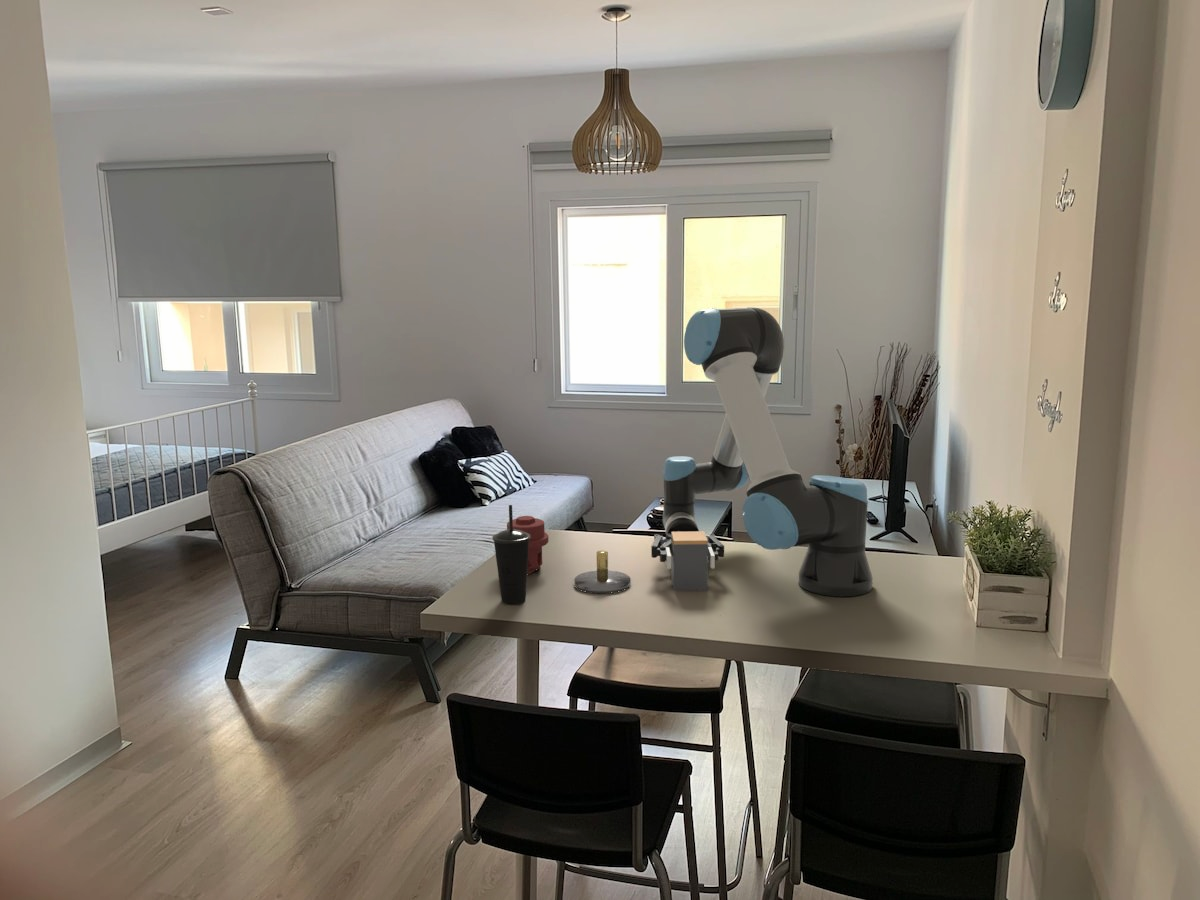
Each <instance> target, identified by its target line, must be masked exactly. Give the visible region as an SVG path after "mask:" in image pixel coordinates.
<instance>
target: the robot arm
mask: <svg viewBox="0 0 1200 900" xmlns="http://www.w3.org/2000/svg"><path fill="white" fill-rule="evenodd" d="M784 342H785V341H784V335H783V332H782V328H781V326H780V324H779V322H778V321H777V319H776V318H775V317H774V316H773V315H772V314H771V313H769V312H768V311H766V310H765V309H763V308H758V307H739V308H738V307H737V308H736V307H735V308H733V307H732V308H716V307H712V308H708V309H707V308H706V309H700V310H698V311H696V312H694V313H693V315H692V316H691V317H690V318H689V320H688V322H687V324H686V327H685V332H684V336H683V348H684V353H685V356H686V358H687V359H688V360H689V362H690V363H692V364H694V365H696V366H701V367H702V370H703V373H704V376H705V377H706V379H709V380H711V381H714V383H715V386H716V388H717V392H718V395H719V397H720V400H721V403H722V406H723V408H724V411H725V416H724V419H723V421H722V424H721V428H720V432H719V434H718V437H717V441H716V444H715V448H714V451H713V454H712V457H711V460H710V461H708V462H707V461H706V462H699V463H696V460H695V459H694V457H691V456H685V455H684V456H683V455H681V456H677V455H676V456H670V457H667V458H666V460H665V461H664V462H663V463H664V464H663V472H662V473H663V474H662V475H663V476H662V478H663V513H662V525H663V527H664V530H665V531H664V532H665V537H664V536H663V535H660V534H657V533H656V534H654V535H653V538H654V540H653V542H652V544H651V550H650V551H651V552H650V553H651V558H653V559H655V558H657V557H659V562H660V563H665V564H666V567H667V569H669V570H671V532H691V531H700V529H699V527H698V524H697V523H696V517H695V516H696V515H695V514H696V513H695V512H696V511H695V510H696V508H695V507H696V505H695V504H696V495H703V494H704V495H705V494H710V493H718V492H729V491H730V492H731V491H734V490H738V489H740V488H743V487H745V485H746V484H747V482H748V481H749V485H748V487H747V488H746V491H745V494H746V496H747V497H746V499H744V502H743V503H742V504H743V505H742V511H743V513H742V515H741V517H742V522H743V526H744V529H746V532H747V534H748V535H749V537H750V538H751V540H752V541H753V542H754V543H755V544H757V546H760V547H762V548H763V549H765V550H769V551H770V550H772V551H773V550H774V551H775V550H788V549H791V548H793V547H799V546H803V545H807V550H806V552H805V556H804V557H803V561H802V564H801V566H800V568H799V571H798V585H799V586H800V587H801V588H802V589H804V590H805V591H809V592H810V593H813V594H818V595H823V596H829V597H841V598H842V597H856V596H862V595H865V594H867V593H869V592H871V591H872V590H873V574H872V571H871V568H870V564H869V561H868V557H867V553H866V538H867V522H868V521H867V519H868V518H867V517H868V504H869V501H868V489H867V485H865V484H864V483H863V482H861V481H859V480H857V479H852V478H848V477H841V476H832V475H812V476H811V477H810V478H809V479H810V480H809V482H808V486H807V485H805V483H804V480H803V478H802V475H801V473H800V472H798V471H796V470H793V469H791V467H790V464H789V460H788V459H787V455H786V453H785V451H784V447H783V445H782V442H781V440H780V437H779V434H778V432H777V428H776V426H775V423H774V421H773V418H772V416H771V413H770V412H771V411H770V409H769V406H768V404H767V402H766V399H765V398H766V395H767V392H768V389H769V386H770V383H771V380H772V377H773V376H774V375H776V374H778V372H779V370H780V368H781V364H782V362H783V357H784V351H785V350H784V349H785V343H784ZM706 538H707V540H708V555H707V562H708V563H709V567H710V569H715V567H716V566H715V563H716V562H715V561H718V560H719V558H725V544H723V543H722V542H721V541H720V540H719V539H718V538H716V535H715V534H713V533H711V534H709V535H706Z"/></svg>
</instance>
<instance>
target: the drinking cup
mask: <svg viewBox="0 0 1200 900" xmlns="http://www.w3.org/2000/svg"><path fill="white" fill-rule="evenodd" d="M508 520H509V521H508V522H509V528H510V529H509V530H507V529H504V530H501V531H499V532H497V533H495V534H493V536H492V539H491V540H492V541H493V543H494V552H495V560H496V567H497V576H498V582H499V583H498V584H499V590H500V598H501V599H500V600H501V602H502V604H504V605H510V606H513V605H514V606H515V605H520V604H521V605H522V604H523V603H525V602H526V597H527V581H528V579H527V578H528V575H527V566H528V550H529V539H530V538H531V536H530V534H529V533H526V532H523V531H521V530H516V529H513V520H514V518H513V505H512V504H508Z"/></svg>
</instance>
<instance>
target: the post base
mask: <svg viewBox="0 0 1200 900" xmlns="http://www.w3.org/2000/svg"><path fill="white" fill-rule="evenodd" d="M608 554H609V552H608V550H603V549H602V550H597V551H596V570H591V571H586V572H582V573H580V574H578V575H576V576H575V577H574V587H575V586H576V587H577V588H578V589H580V590H582V591H581V592H583V591H586V592H585V593H587V592H592V593H591V594H594V593H610V594H612V593H611V592H617V593H619V592H618V591H621V592H623V591H622V590H624V589H626V590H628V589H629V588H630V587H631V585H630V584H631V583H632V582H631V581H632V579H631V577H630V576H629V575H628V574H626V573H624V572H621V571H617V570H609V555H608ZM629 586H630V587H629ZM576 587H575V588H576ZM628 587H629V588H628ZM577 588H576V589H577ZM627 588H628V589H627ZM578 589H577V590H578ZM580 590H579V591H580ZM624 591H625V590H624Z"/></svg>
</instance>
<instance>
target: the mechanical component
mask: <svg viewBox="0 0 1200 900" xmlns="http://www.w3.org/2000/svg"><path fill="white" fill-rule="evenodd" d="M509 529H510V528H509V521H507V522H506V530H509ZM513 529H516V530H521V531H523V532H526V533H529V534H530V536H531V538H530V539H529V550H528V566H527V574H529V575H530V574H531V573H533V572H535V571H534V570H536V569H539V568H540V569H541V567H542V566H543V547H544V546H546V545H547V544H548V543H549V534H548V533H547V532H545V521H544V520H542V519H540V518H538V517H537V518H535V517H534V516H532V515H520V516H518V517H517V518H513ZM540 569H539V570H540ZM532 571H533V572H532ZM536 571H537V570H536ZM530 572H531V573H530Z"/></svg>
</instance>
